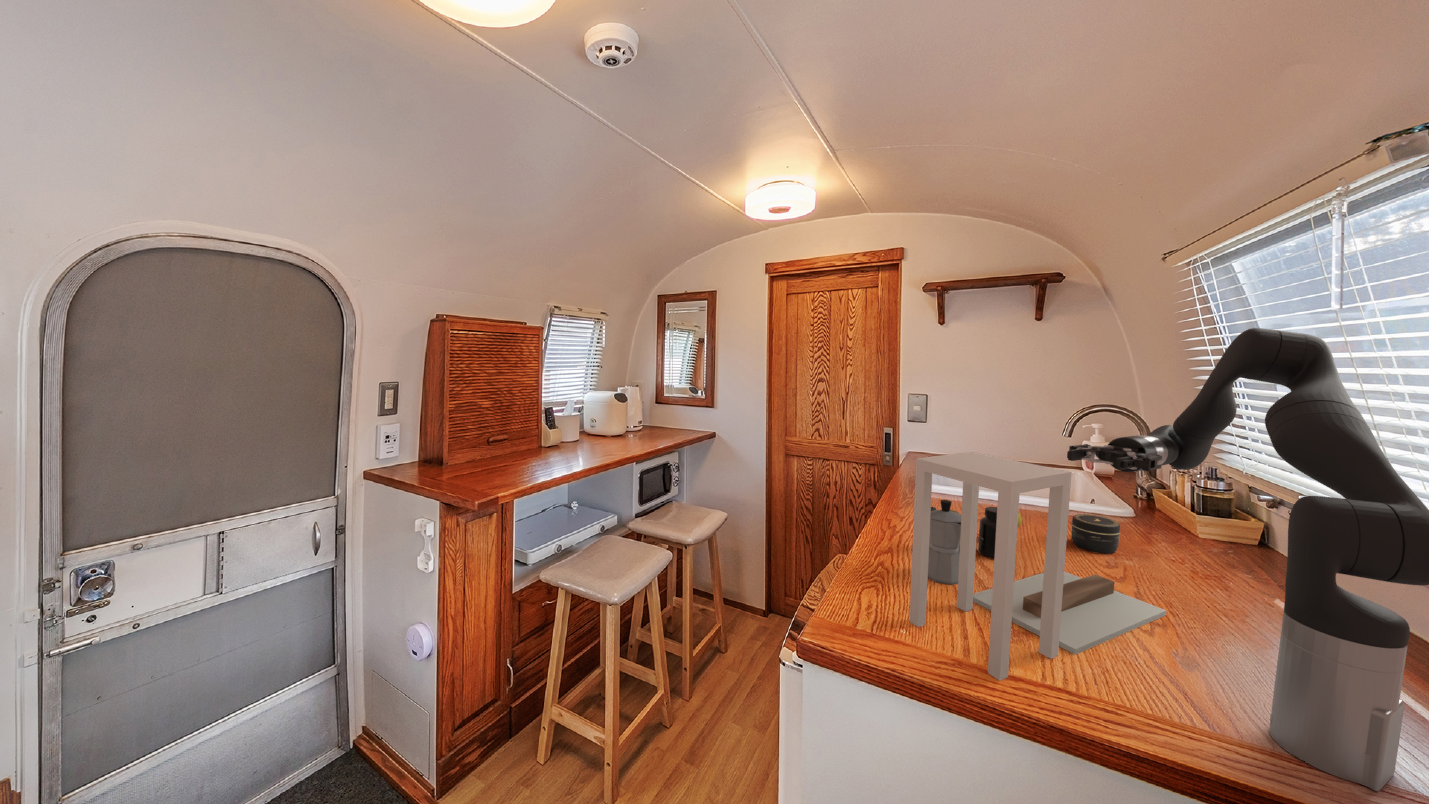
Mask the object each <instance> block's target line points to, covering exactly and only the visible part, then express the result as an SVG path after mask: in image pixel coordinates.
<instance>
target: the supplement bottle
mask: <svg viewBox="0 0 1429 804" xmlns="http://www.w3.org/2000/svg"><path fill="white" fill-rule="evenodd" d="M996 523H997V506H986V507H985V509H984V516H983V517H981V518H980V520H979V529H978V530H979V531H978V541H977V542H978V545H977V550H978V552H979V554H980V555H982V556H983V557H985V556H986V558H989V559H993V560H994V557H995V540H996Z"/></svg>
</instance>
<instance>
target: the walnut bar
mask: <svg viewBox="0 0 1429 804" xmlns="http://www.w3.org/2000/svg"><path fill="white" fill-rule="evenodd" d="M1081 578H1082V579H1079V580H1075V581H1072V582H1069V583H1066V584H1063V596H1062V609H1061V612H1062V611H1065V610H1068V609H1071V608H1074V607H1076V606H1079V605H1082V604H1085V603H1088V602H1090V601H1093V600H1096V599H1099V598H1102V597H1105V596H1107V595H1110V594H1113V593H1114V591H1115V585H1116V584H1115V583H1116V582H1115V581H1114V580H1111V579H1109V578H1106V577H1104V576H1102V575H1101V576H1100V575H1098V574H1096V573H1095V574H1094V573H1093V574H1092V575H1089V576H1085V577H1081ZM1042 594H1043V591H1041V592H1037V593H1034V594H1031V595H1028V596H1025V597H1023V610H1025V611H1027V612H1029V613H1031V614H1033V615H1035V616H1037V617H1039V618H1041V609H1042Z"/></svg>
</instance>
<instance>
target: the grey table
mask: <svg viewBox="0 0 1429 804" xmlns="http://www.w3.org/2000/svg"><path fill="white" fill-rule="evenodd" d="M1072 474H1073V473H1072V471H1069V470H1064V469H1059V468H1054V467H1049V466H1044V465H1039V464H1036V463H1029V462H1025V461H1019V460H1015V459H1010V458H1004V457H1000V456H994V455H990V454H985V453H979V452H973V451H967V452H959V453H957V452H956V453H951V454H949V453H948V454H943V455H935V456H934V455H933V456H926V457H918V458H916V459H915V475H914V477H915V478H914V479H915V480H914V503H913V504H914V505H913V526H912V527H913V528H912V530H913V531H912V550H911V552H912V554H911V575H910V576H911V577H910V578H911V579H910V599H909V600H910V601H909V603H910V604H909V623H911V624H912V625H914V626H916V627H917V628H919V627H922V626H926V625H927V623H926V622H927V600H928V582H929V581H928V580H929V579H928V559H929V537H930V514H931V507H932V490H933V489H932V488H933V487H932V486H933V475H937V476H940V477H944V478H948V479H950V480H951V479H952V480H954V481H955V480H956V481H958V482H962V498H961V535H960V554H959V574H958V584H957V596H956V597H957V598H956V608H958V609H959V610H961V611H963V612H969V611H972V610H973V606H974V602H973V594H974V592H975V591H974V590H975V589H974V587H975V570H976V555H977V554H976V553H977V552H976V551H977V550H976V549H977V535H978V534H977V531H978V517H979V516H978V514H979V499H980V498H979V495H980V488H985V489H988V490H993V491H996V492H997V505H996V507H997V523H996V540H995V557H994V559H993V560H994V562H993V574H992V575H993V576H992V588H993V592H992V609H991V613H990V614H991V615H990V627H989V628H990V630H989V645H988V647H989V648H988V665H987V674H989V675H990V676H992V677H993V678H995V679H997V680H998V681H999V682H1000V681H1003V680H1005V679H1008V678H1009V670H1010V669H1009V667H1010V652H1011V651H1010V650H1011V637H1012V636H1011V634H1012V623H1013V622H1012V607H1013V591H1014V581H1015V576H1016V575H1015V573H1016V558H1017V557H1016V556H1017V542H1018V541H1017V539H1018V529H1017V527H1018V512H1020V511H1019V507H1020V494H1023V493H1029V492H1034V491H1039V490H1045V489H1049V495H1048V508H1047V509H1048V510H1047V511H1048V512H1047V525H1046V537H1045V538H1046V539H1045V552H1044V554H1045V555H1044V565H1043V566H1044V567H1043V573H1044V580H1043V594H1042V609H1041V623H1040V636H1039V640H1038V641H1039V642H1038V654H1041V655H1043V656H1045V657H1047V658H1048V659H1050V660H1053V659H1054V658H1056V657H1059V650H1060V649H1059V648H1060V647H1059V637H1060V623H1061V609H1062V596H1063V582H1064V571H1065V567H1066V552H1067V542H1068V541H1067V540H1068V539H1067V538H1068V525H1069V513H1070V500H1071V499H1070V496H1071V484H1072Z"/></svg>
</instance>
